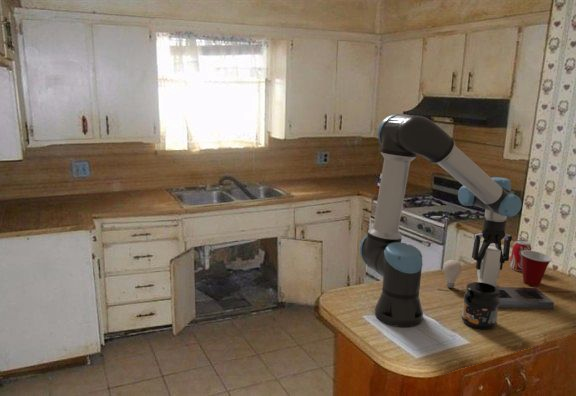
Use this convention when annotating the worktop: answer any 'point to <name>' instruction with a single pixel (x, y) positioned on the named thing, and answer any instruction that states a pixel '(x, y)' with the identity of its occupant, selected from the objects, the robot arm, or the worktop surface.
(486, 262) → the square post
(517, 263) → the soda can
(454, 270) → the light bulb
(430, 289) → the worktop surface
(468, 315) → the supplement container
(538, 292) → the rail plate
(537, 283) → the plastic cup
